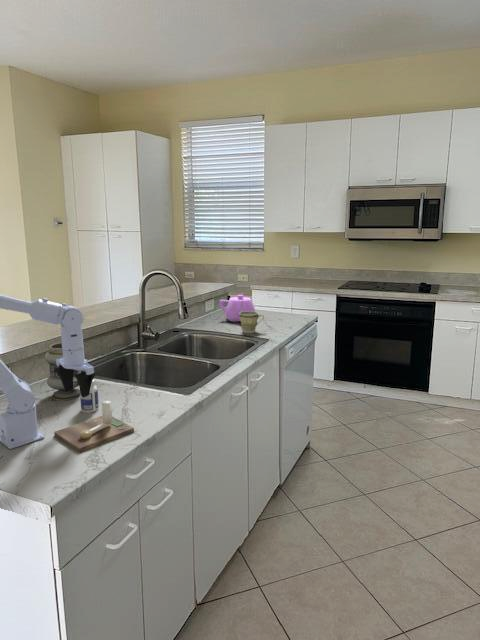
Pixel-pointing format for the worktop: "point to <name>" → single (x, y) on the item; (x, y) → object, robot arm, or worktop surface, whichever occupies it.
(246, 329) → the ceramic cup
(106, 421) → the peg lever
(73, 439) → the tuner board
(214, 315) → the worktop surface
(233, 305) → the teapot
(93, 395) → the pill bottle
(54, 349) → the apothecary jar
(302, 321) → the worktop surface
